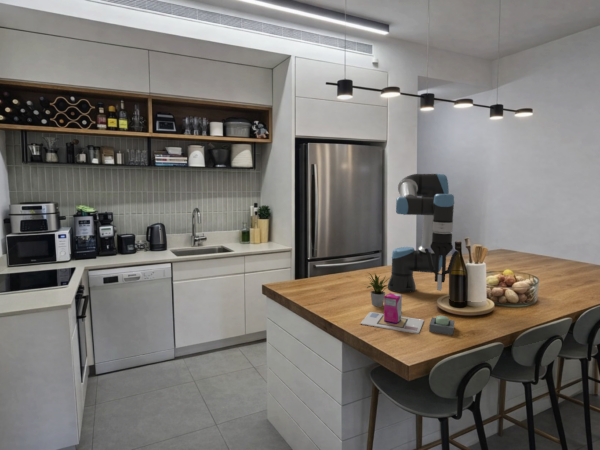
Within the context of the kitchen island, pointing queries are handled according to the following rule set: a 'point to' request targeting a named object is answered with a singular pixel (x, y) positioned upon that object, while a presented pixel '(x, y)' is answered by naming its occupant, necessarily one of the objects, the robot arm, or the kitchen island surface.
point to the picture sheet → (404, 325)
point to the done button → (442, 320)
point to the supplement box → (392, 308)
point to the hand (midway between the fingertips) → (439, 289)
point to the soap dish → (441, 327)
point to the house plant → (377, 291)
